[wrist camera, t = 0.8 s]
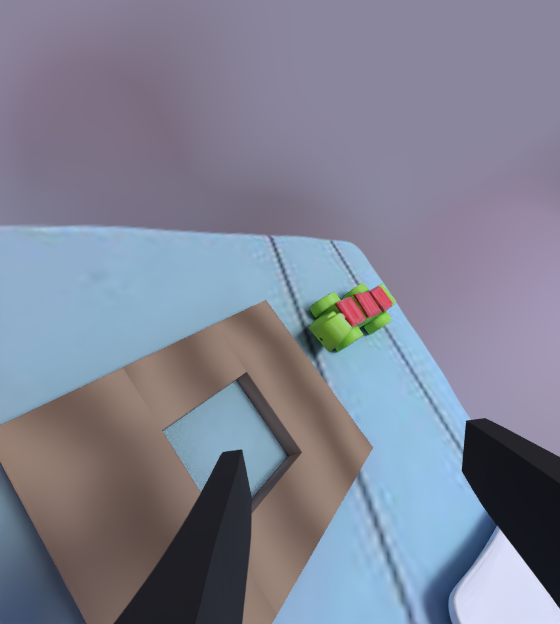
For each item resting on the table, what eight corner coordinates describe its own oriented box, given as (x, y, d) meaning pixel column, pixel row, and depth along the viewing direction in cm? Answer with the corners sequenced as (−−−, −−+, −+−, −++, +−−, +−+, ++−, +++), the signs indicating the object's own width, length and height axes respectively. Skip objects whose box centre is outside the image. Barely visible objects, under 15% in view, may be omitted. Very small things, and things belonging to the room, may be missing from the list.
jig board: (163, 763, 14) (175, 790, 12) (-10, 440, 16) (-16, 432, 15) (358, 451, 30) (373, 447, 28) (256, 309, 32) (265, 300, 30)
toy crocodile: (364, 288, 47) (394, 265, 43) (388, 323, 46) (421, 303, 42) (282, 319, 33) (314, 290, 29) (312, 370, 32) (351, 347, 28)
